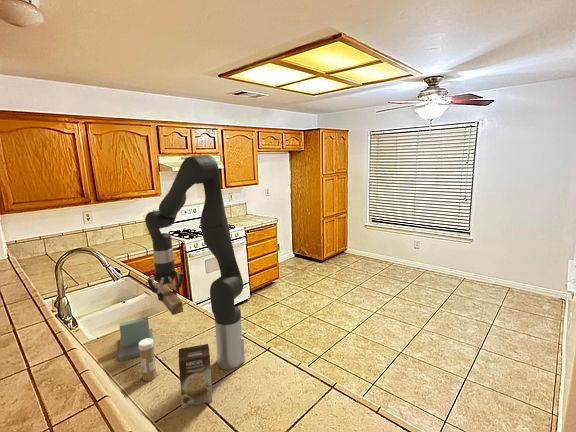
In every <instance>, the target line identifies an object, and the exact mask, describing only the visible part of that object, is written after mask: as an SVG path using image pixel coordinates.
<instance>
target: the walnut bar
mask: <svg viewBox="0 0 576 432" xmlns="http://www.w3.org/2000/svg"><path fill="white" fill-rule="evenodd" d="M158 283H159V282H158V281H157V282H153V284H154V287H155V288H158ZM155 295H156V296H157V297H158V293H156V292H155ZM161 295H162V301H161V302H162V304H163V305H164V306H165V308H166V309H167V310H168V311H169V312H170V314H171V315H172V316H174V315H177V314H182V313H184V305H183V301H182V300H181V299H180V298H179V296H178V295H177V296H176V295H175V293H174V292H173V289H171V288H170V287H169V286H168V285H167V284H164V285H162V289H161Z"/></svg>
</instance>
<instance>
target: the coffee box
mask: <svg viewBox="0 0 576 432" xmlns="http://www.w3.org/2000/svg"><path fill="white" fill-rule="evenodd" d="M210 354H211V353H210V347H209V343H205V344H200V345H193V346H187V347H183V348H182V347H181V348H178V370H179V381H180V382H179V384H180V396H181V397H180V398H181V400H180V401H181V409H185V408H189V407H194V406H198V405H199V406H200V405H202V404H207V403H211V402H213V392H212V391H213V390H212V388H213V387H212V376H211V375H212V373H211V355H210Z"/></svg>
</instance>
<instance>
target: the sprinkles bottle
mask: <svg viewBox="0 0 576 432" xmlns="http://www.w3.org/2000/svg"><path fill="white" fill-rule="evenodd" d="M153 345H154V338H153V339H151V338H146V339H143V340H141V341H140V342H139V344H138V346H139V350H140V356H139V358H140V365H141V366H140V368H141V373H142V381H145V382H149V381H152V380H154V379H155V378H156V377H157V366H156V358H155V348H154V349H153Z"/></svg>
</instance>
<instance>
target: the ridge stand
mask: <svg viewBox="0 0 576 432" xmlns="http://www.w3.org/2000/svg"><path fill="white" fill-rule="evenodd" d="M149 323H150V322H149V317H148V316H146V317H142V318H137V319H133V320H129V321H128V320H127V321H124V322H120V323H119V332H120V339H119V348H118V359H117V360H118V362H122V361H126V360H131V359H133V358H137V357H140V350H139V346H138V344H139V342H140V341H141V340H143V339H146V338H151V339H153V340H154V336H153V328H150V325H149ZM153 349H154V350H155V347H154V345H153Z"/></svg>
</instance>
